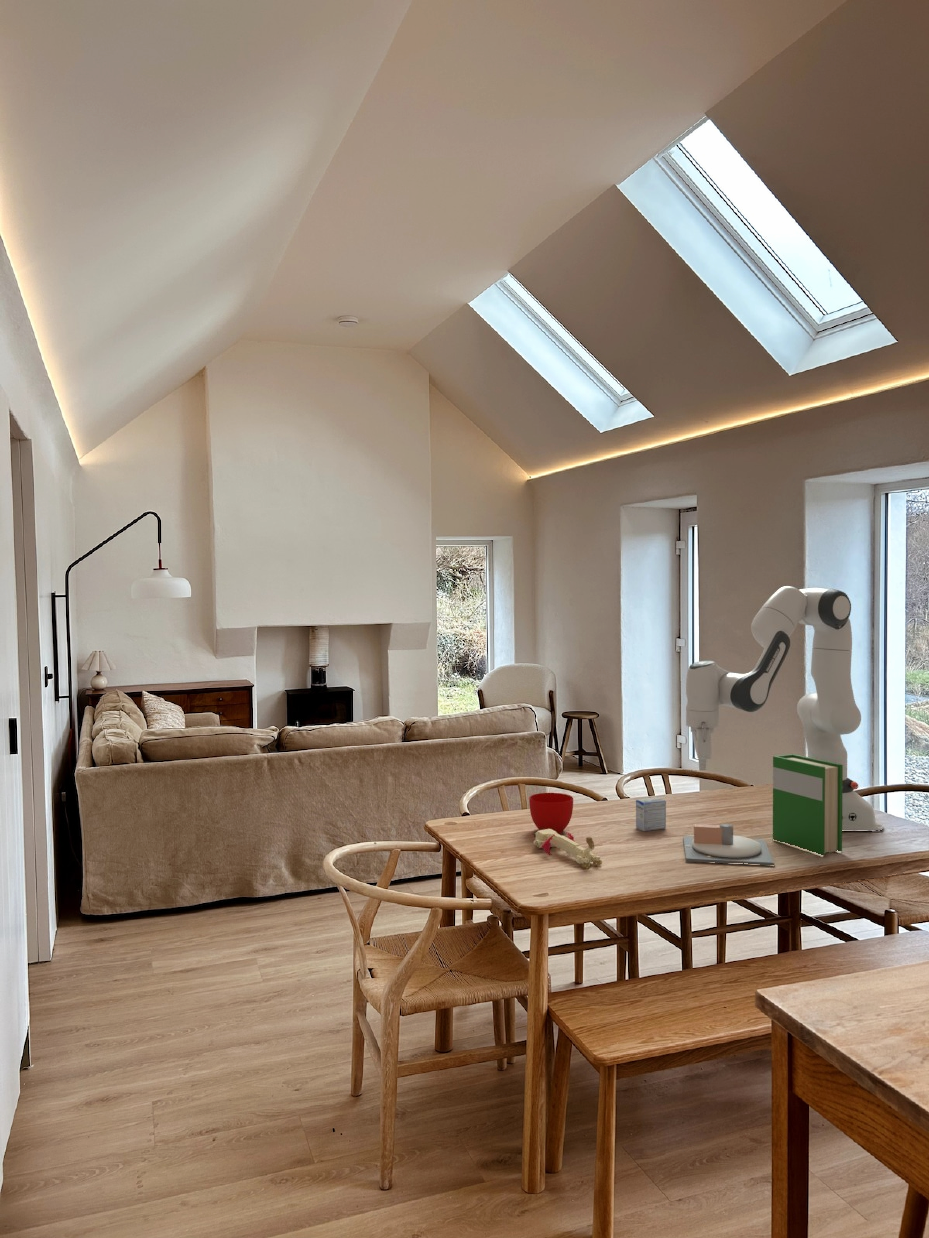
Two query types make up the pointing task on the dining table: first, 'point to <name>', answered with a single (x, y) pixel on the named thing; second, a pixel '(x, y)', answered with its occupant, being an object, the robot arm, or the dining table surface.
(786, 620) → the robot arm
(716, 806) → the dining table surface
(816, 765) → the hardback book
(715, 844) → the dial
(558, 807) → the ceramic cup
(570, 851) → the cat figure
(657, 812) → the medicine box
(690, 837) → the dial base plate
